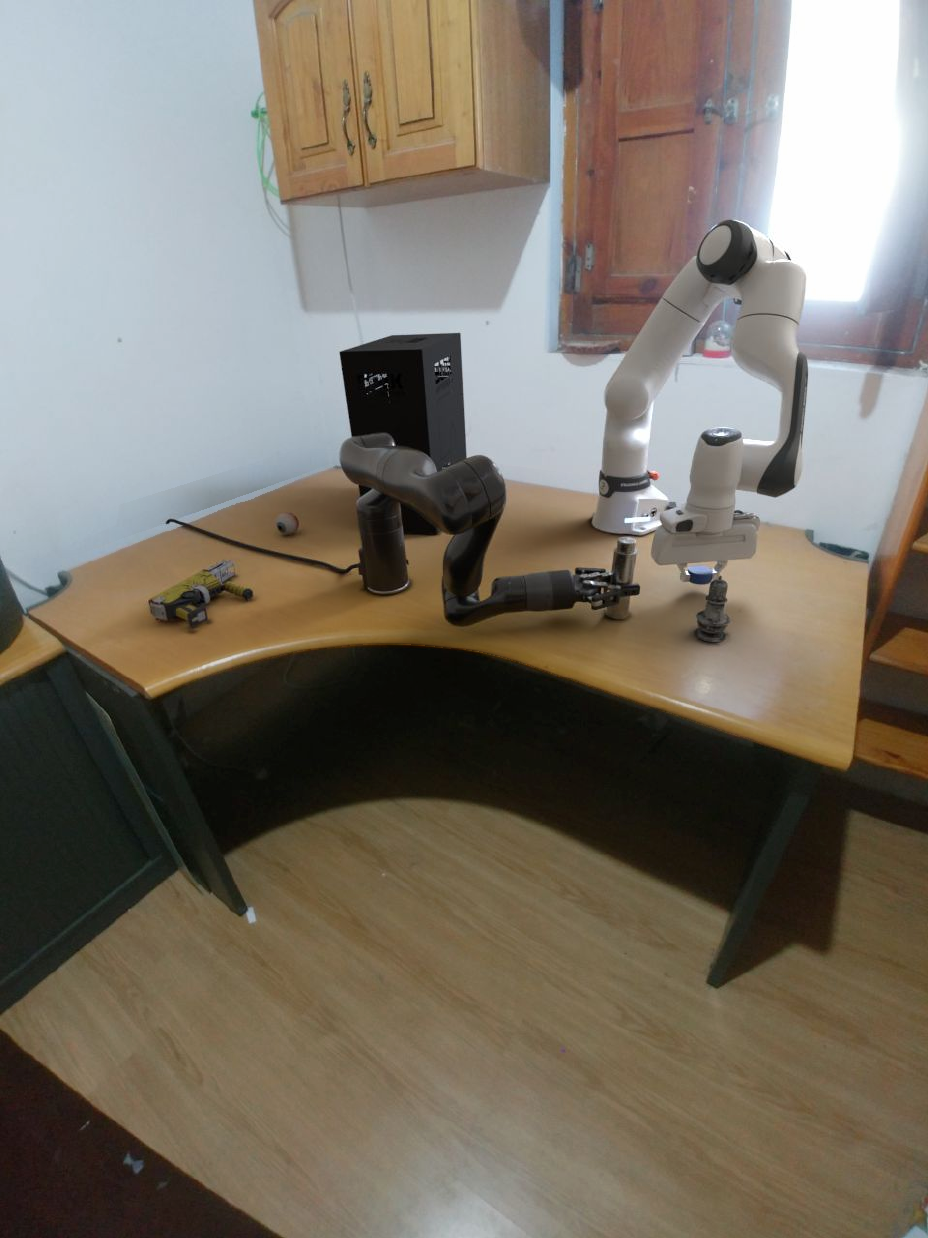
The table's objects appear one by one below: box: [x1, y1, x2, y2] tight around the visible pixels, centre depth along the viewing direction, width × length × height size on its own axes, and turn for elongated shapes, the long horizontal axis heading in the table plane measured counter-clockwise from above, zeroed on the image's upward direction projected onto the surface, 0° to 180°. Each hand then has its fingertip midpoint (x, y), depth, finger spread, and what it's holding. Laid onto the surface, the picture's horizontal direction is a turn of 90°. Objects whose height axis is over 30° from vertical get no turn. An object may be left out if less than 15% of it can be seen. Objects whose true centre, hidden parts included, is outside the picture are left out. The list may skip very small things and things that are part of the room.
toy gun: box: [148, 558, 254, 629], centre depth 131 cm, size 5×24×15 cm
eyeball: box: [275, 511, 300, 536], centre depth 163 cm, size 6×6×6 cm
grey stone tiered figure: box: [694, 575, 731, 643], centre depth 107 cm, size 6×6×12 cm
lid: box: [687, 564, 713, 586], centre depth 123 cm, size 5×5×2 cm
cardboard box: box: [339, 332, 468, 535], centre depth 166 cm, size 38×20×45 cm, turn 167°
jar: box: [606, 536, 638, 620], centre depth 115 cm, size 4×4×16 cm
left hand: (634, 583), depth 116 cm, fingers closed on jar, 4 cm apart
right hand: (698, 579), depth 124 cm, fingers closed on lid, 4 cm apart
